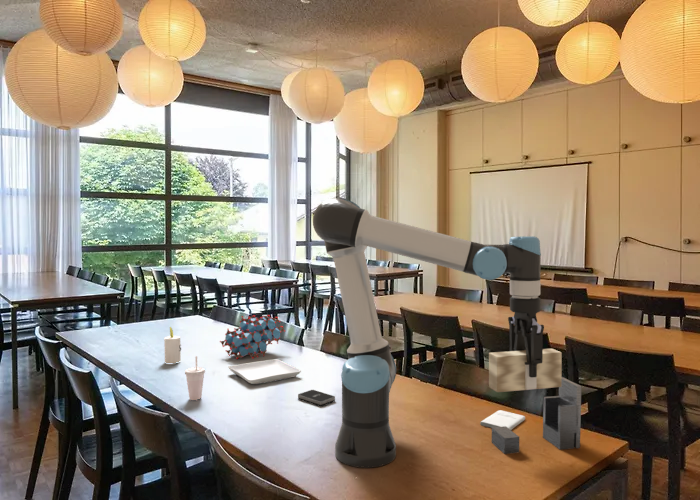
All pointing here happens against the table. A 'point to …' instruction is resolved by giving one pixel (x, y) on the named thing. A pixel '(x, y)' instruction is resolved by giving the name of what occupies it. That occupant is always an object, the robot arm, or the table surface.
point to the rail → (523, 370)
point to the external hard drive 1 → (316, 397)
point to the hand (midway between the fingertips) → (525, 385)
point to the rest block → (505, 440)
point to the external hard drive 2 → (503, 420)
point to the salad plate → (264, 371)
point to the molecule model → (252, 336)
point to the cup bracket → (563, 416)
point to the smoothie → (195, 381)
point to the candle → (172, 348)
